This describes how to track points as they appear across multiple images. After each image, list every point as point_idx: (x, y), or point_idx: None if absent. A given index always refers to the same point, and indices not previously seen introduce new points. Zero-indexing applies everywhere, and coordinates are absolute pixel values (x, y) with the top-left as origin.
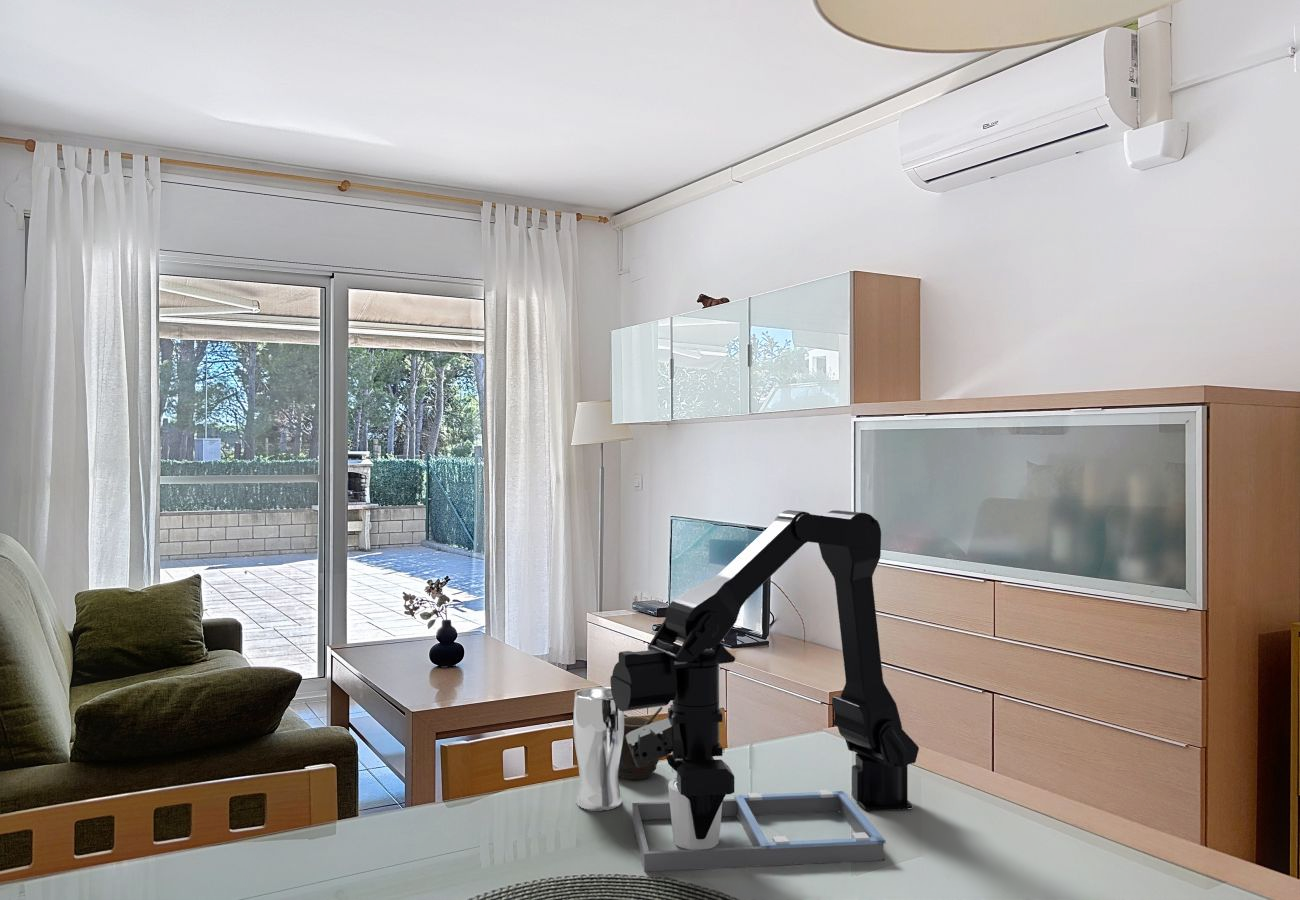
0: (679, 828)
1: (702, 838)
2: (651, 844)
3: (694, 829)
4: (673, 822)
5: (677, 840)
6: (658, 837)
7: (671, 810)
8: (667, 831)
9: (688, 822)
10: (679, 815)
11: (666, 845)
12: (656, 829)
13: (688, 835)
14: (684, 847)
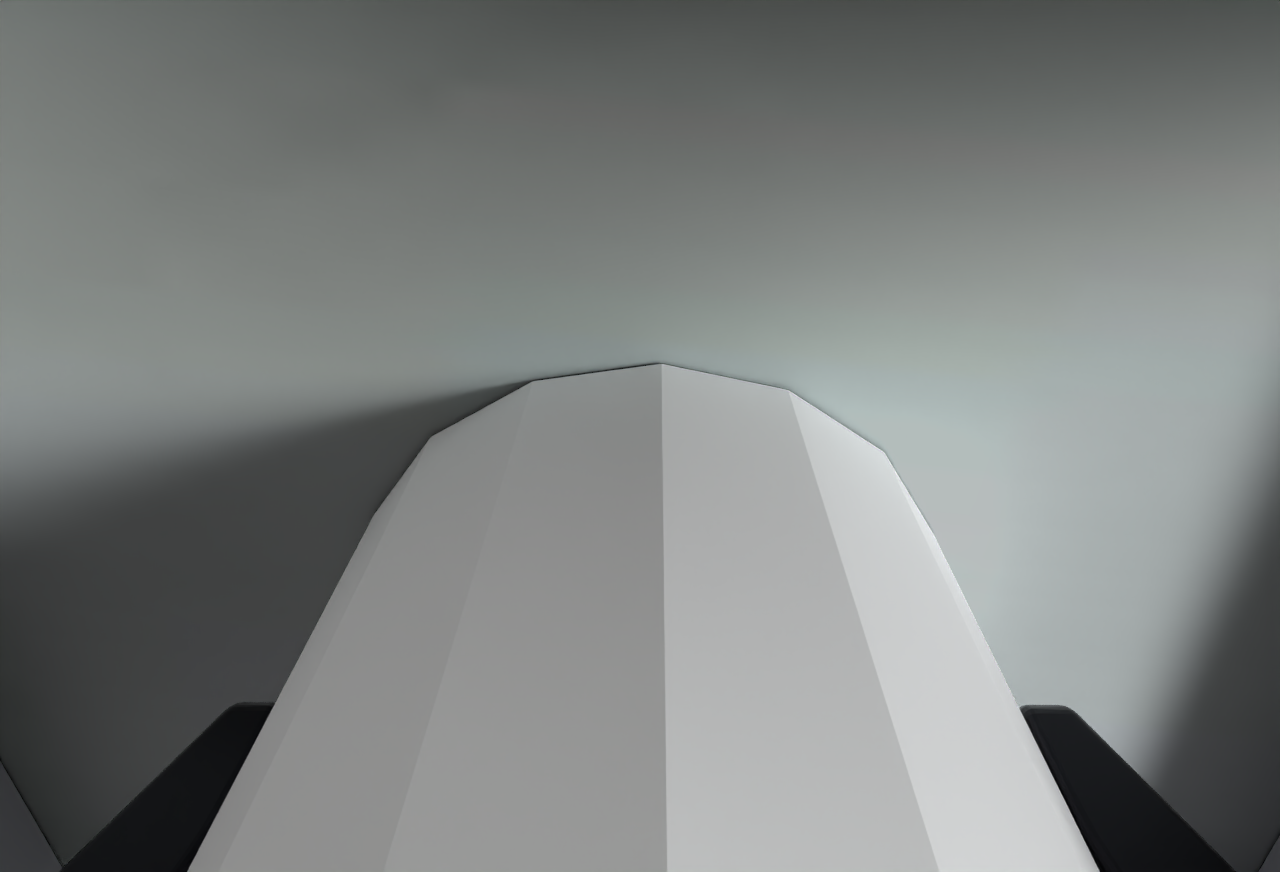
0: (363, 604)
1: None
2: (578, 15)
3: (141, 808)
4: (506, 574)
5: (486, 441)
6: (859, 167)
7: (556, 726)
8: (1059, 325)
9: (212, 824)
10: (255, 815)
11: (525, 255)
12: (1206, 168)
13: (312, 641)
14: (403, 474)
